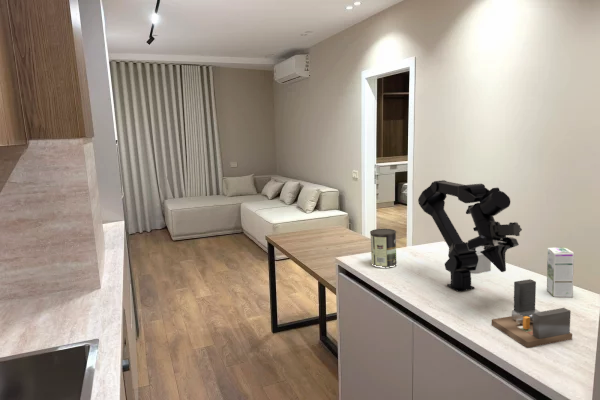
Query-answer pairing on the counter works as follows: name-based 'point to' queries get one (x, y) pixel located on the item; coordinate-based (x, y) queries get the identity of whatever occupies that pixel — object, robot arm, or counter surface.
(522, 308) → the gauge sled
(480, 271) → the grey block
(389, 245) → the coffee can
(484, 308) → the counter surface
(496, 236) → the robot arm
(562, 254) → the syrup box
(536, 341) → the base
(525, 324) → the cylinder
